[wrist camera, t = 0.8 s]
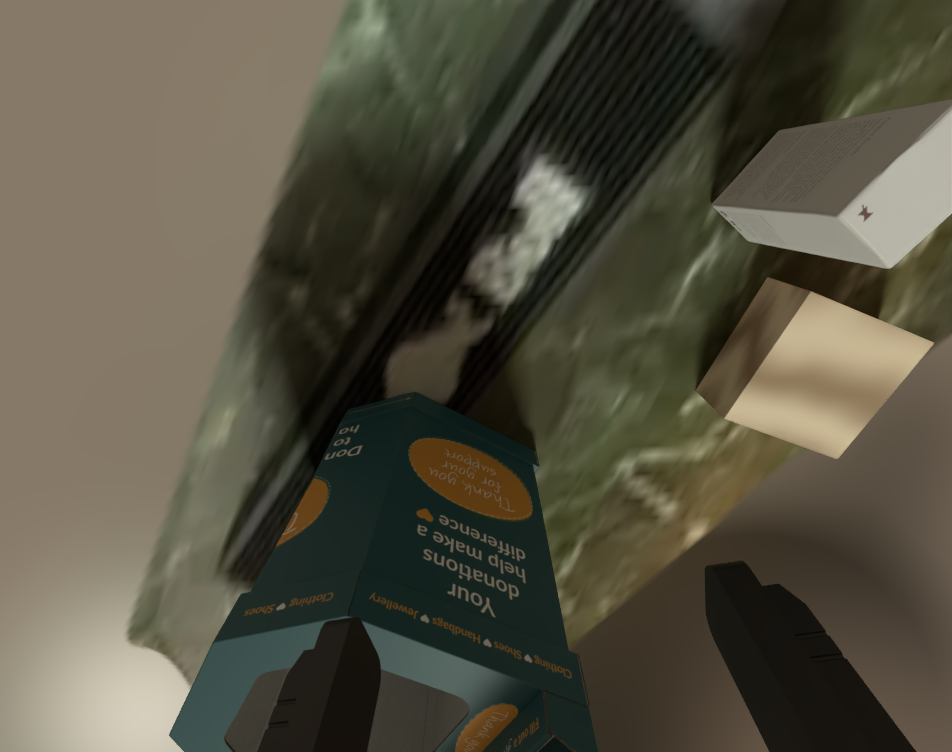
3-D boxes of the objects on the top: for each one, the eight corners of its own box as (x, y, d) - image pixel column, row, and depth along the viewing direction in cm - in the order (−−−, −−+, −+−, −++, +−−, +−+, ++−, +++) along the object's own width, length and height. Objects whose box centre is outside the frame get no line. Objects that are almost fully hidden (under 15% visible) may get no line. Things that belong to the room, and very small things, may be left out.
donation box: (450, 568, 45) (412, 1083, 19) (299, 506, 42) (15, 1018, 16) (536, 450, 39) (644, 957, 14) (368, 368, 36) (99, 819, 11)
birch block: (765, 276, 33) (811, 291, 29) (874, 321, 35) (934, 342, 30) (694, 389, 37) (724, 418, 33) (794, 425, 38) (837, 459, 34)
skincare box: (747, 243, 32) (887, 274, 21) (708, 204, 31) (834, 216, 20) (819, 169, 30) (1015, 162, 19) (780, 126, 29) (963, 91, 18)
